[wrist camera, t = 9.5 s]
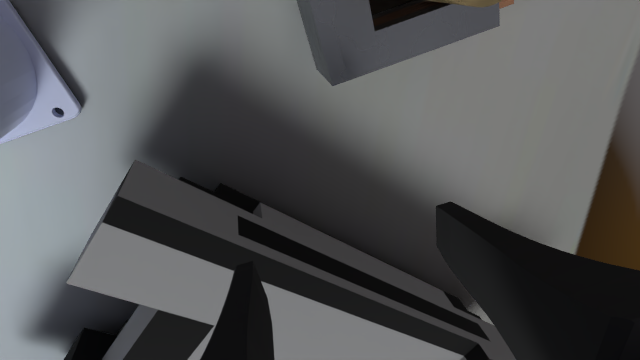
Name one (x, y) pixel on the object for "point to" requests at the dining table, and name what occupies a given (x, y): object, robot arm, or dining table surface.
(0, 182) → the dining table surface
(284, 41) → the dining table surface
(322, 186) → the dining table surface
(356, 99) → the dining table surface
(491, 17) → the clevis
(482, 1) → the brass peg
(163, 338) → the game console
